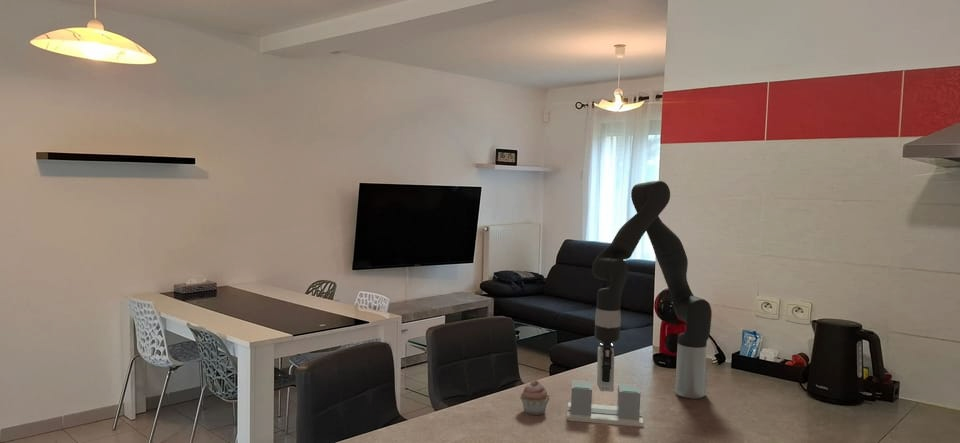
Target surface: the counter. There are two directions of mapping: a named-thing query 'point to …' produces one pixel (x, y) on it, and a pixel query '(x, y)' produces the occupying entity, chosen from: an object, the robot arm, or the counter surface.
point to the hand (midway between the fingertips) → (605, 377)
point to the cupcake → (534, 398)
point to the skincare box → (602, 385)
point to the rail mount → (618, 415)
